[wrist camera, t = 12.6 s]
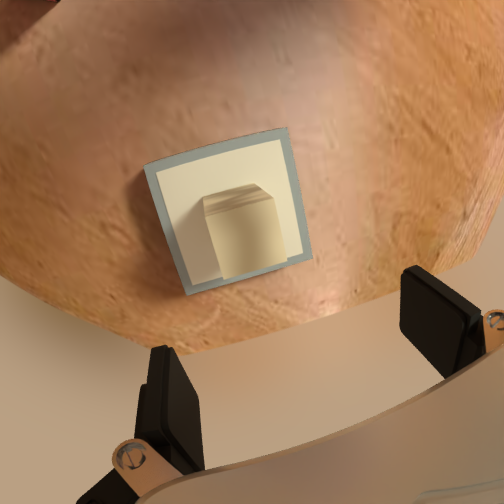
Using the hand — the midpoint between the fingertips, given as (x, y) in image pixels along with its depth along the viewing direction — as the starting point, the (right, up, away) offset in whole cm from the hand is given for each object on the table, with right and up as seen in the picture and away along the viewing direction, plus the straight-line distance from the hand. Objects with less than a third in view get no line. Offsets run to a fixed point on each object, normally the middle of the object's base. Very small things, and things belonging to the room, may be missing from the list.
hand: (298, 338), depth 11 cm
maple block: (-3, +7, +19) cm, 20 cm away
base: (-4, +8, +22) cm, 24 cm away
